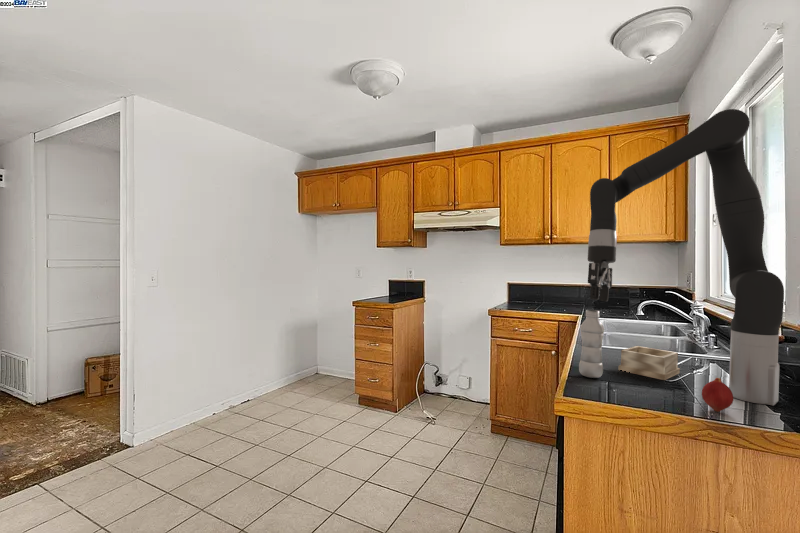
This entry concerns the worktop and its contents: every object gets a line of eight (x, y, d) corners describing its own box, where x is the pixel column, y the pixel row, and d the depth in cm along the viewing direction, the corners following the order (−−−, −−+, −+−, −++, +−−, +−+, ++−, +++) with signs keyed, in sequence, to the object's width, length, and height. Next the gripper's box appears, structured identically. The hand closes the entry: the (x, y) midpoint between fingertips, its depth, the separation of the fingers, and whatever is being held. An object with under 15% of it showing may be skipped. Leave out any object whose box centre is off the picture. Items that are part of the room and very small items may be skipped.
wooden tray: (679, 373, 125) (680, 352, 125) (664, 380, 117) (665, 358, 117) (635, 364, 136) (635, 345, 135) (618, 370, 127) (619, 350, 127)
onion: (696, 405, 96) (697, 372, 96) (725, 408, 95) (726, 375, 95) (707, 414, 91) (708, 379, 91) (738, 417, 89) (739, 382, 89)
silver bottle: (590, 373, 123) (592, 309, 123) (608, 379, 117) (610, 311, 116) (573, 374, 121) (575, 309, 121) (590, 381, 115) (592, 312, 114)
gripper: (608, 242, 111) (605, 300, 110) (622, 249, 121) (620, 302, 120) (580, 242, 116) (577, 298, 115) (596, 249, 126) (594, 300, 125)
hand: (599, 300), depth 117 cm, fingers open, 8 cm apart
